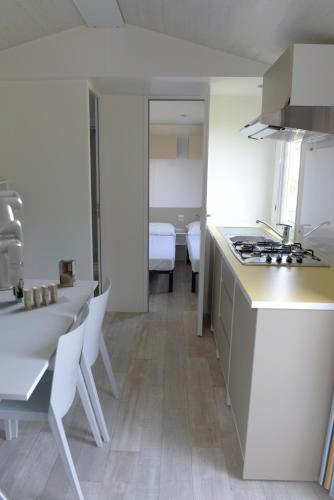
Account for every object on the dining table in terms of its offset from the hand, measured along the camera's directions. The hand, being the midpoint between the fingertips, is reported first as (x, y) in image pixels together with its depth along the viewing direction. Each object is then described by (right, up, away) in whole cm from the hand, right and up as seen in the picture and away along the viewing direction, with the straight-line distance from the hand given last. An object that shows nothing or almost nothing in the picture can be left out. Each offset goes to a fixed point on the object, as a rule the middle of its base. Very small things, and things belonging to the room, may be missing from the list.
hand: (18, 296), depth 211 cm
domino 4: (+20, -3, +1) cm, 20 cm away
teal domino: (0, -3, +1) cm, 4 cm away
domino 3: (+16, -4, -2) cm, 17 cm away
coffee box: (+19, +3, +32) cm, 38 cm away
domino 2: (+12, -5, -5) cm, 14 cm away
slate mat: (+16, -4, -2) cm, 17 cm away
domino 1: (+9, -5, -9) cm, 13 cm away
